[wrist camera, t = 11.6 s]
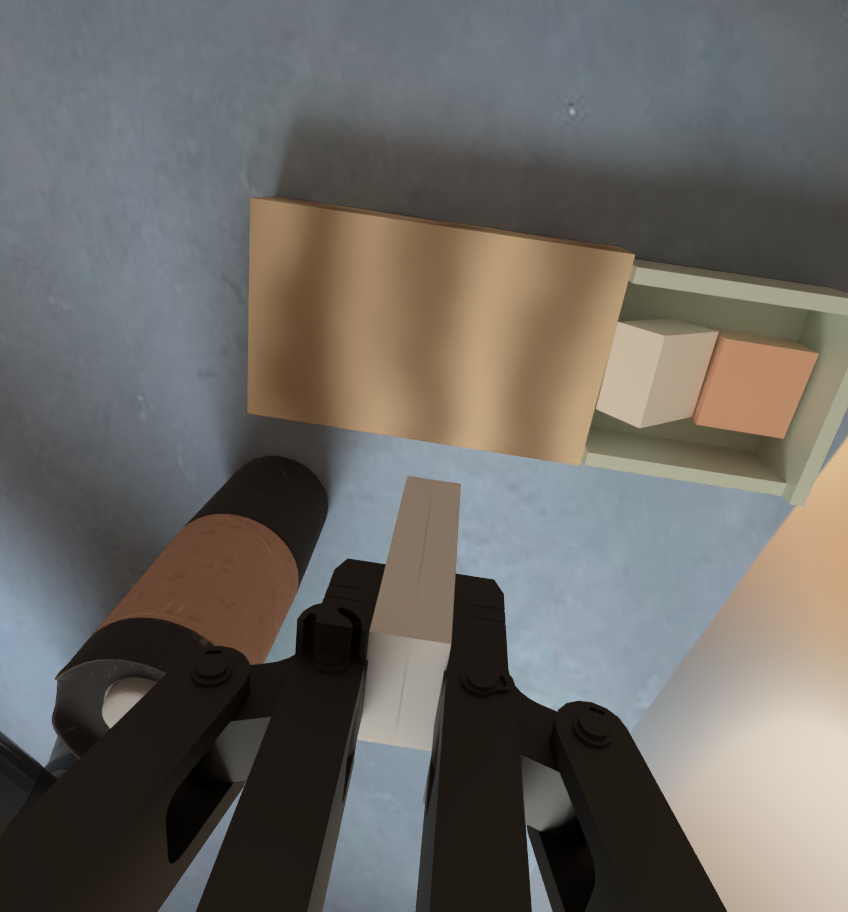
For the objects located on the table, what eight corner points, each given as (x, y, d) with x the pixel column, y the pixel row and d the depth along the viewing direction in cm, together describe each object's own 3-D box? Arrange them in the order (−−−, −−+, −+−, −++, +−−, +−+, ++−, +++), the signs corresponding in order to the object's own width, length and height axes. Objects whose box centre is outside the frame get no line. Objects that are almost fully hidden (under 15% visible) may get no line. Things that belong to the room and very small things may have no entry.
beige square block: (595, 409, 35) (639, 428, 33) (617, 321, 33) (665, 336, 31) (648, 399, 38) (692, 416, 36) (671, 318, 36) (718, 331, 34)
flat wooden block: (268, 392, 41) (247, 413, 37) (274, 196, 36) (250, 197, 32) (571, 439, 40) (579, 465, 36) (619, 247, 35) (635, 254, 31)
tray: (572, 432, 40) (587, 472, 34) (617, 256, 35) (641, 269, 30) (759, 461, 39) (803, 506, 34) (828, 287, 35) (892, 306, 29)
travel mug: (351, 524, 44) (259, 765, 26) (264, 561, 46) (120, 809, 28) (295, 434, 42) (149, 630, 23) (205, 477, 44) (5, 689, 25)
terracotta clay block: (783, 438, 35) (761, 420, 38) (819, 353, 33) (793, 340, 36) (695, 424, 35) (680, 407, 38) (725, 338, 33) (707, 326, 36)
